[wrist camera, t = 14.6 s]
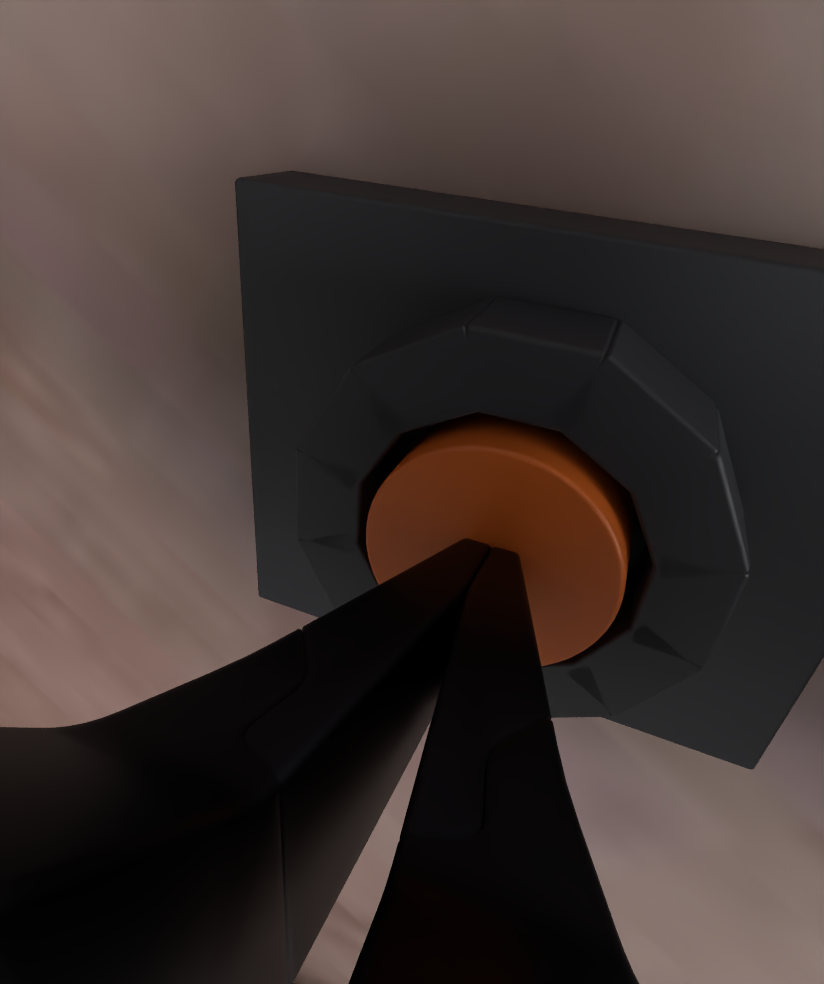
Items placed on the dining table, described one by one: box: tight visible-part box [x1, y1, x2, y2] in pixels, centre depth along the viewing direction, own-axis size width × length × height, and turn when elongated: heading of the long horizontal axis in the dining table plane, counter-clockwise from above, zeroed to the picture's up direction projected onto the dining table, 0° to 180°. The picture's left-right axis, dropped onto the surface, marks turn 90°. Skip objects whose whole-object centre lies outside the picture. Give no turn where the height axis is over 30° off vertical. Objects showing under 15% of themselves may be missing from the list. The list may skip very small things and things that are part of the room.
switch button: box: [366, 412, 634, 666], centre depth 10 cm, size 4×4×2 cm
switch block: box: [235, 171, 824, 769], centre depth 11 cm, size 11×9×4 cm
